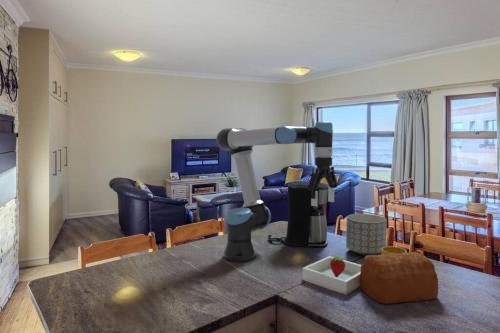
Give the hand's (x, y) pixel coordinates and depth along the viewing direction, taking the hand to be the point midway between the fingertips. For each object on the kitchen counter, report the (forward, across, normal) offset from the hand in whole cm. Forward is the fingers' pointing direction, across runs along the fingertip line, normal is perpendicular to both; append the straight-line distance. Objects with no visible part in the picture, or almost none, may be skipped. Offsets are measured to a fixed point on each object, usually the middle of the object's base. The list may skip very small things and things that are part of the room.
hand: (322, 203), depth 158 cm
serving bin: (+29, -9, -13) cm, 33 cm away
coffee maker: (+29, +25, +31) cm, 49 cm away
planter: (+29, +30, -6) cm, 42 cm away
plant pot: (+29, +16, -26) cm, 42 cm away
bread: (+29, -4, -36) cm, 46 cm away
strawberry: (+28, -9, -13) cm, 32 cm away
